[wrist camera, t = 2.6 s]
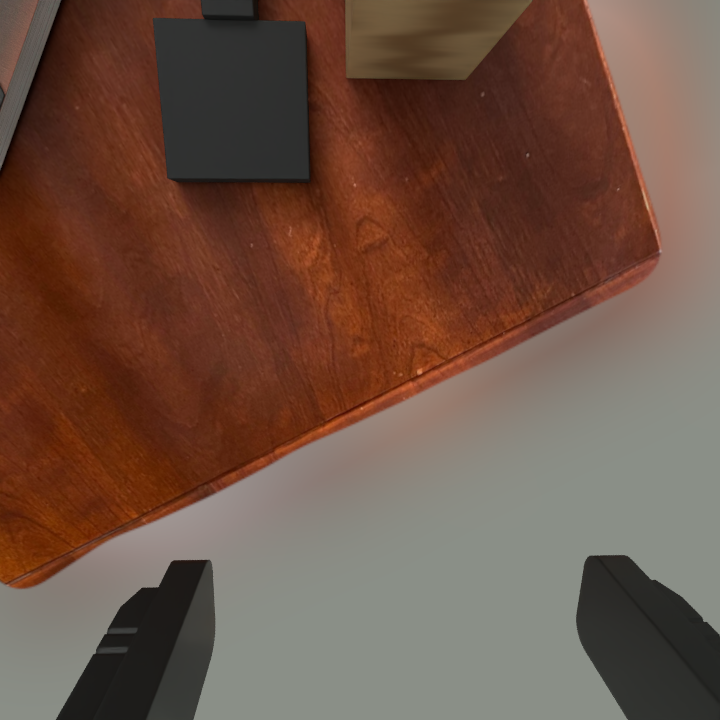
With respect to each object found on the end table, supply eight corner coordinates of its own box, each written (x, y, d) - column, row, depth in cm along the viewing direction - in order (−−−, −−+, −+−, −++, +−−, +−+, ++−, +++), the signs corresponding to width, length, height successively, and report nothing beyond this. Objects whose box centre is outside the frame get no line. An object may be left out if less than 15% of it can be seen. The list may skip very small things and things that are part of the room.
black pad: (302, -116, 29) (300, -148, 27) (310, 182, 33) (309, 178, 31) (150, -122, 29) (134, -155, 26) (176, 182, 33) (164, 177, 31)
